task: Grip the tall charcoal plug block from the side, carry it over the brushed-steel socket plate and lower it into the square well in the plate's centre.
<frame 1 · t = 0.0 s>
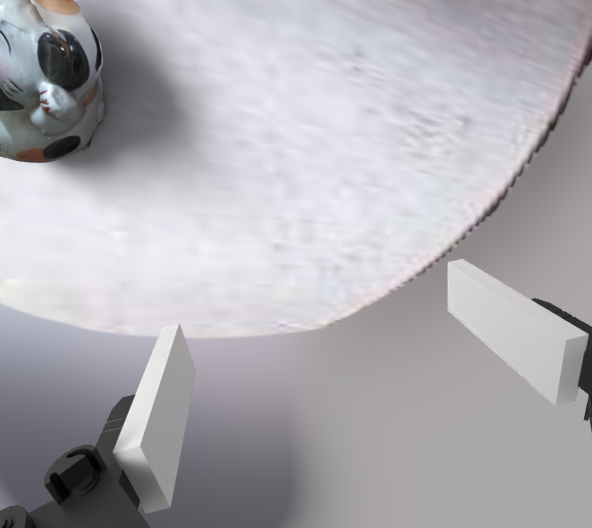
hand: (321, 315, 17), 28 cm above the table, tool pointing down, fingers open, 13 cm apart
lucky cat figurine: (49, 71, 34), on the table
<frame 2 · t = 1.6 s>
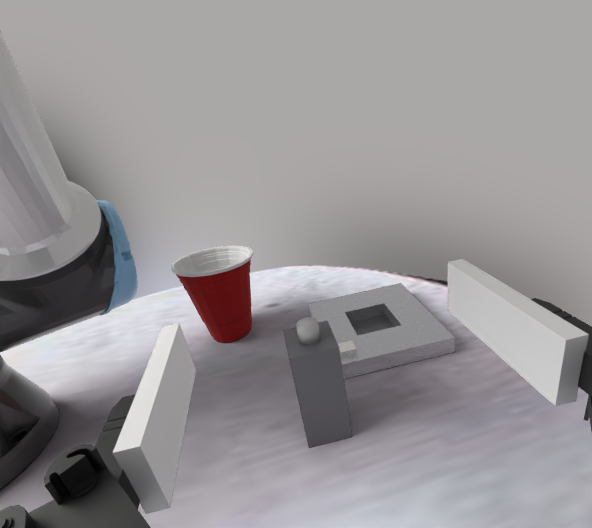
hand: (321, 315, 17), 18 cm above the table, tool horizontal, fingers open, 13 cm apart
plastic cup: (233, 331, 50), on the table
socket: (372, 331, 44), on the table
plug: (325, 424, 33), on the table
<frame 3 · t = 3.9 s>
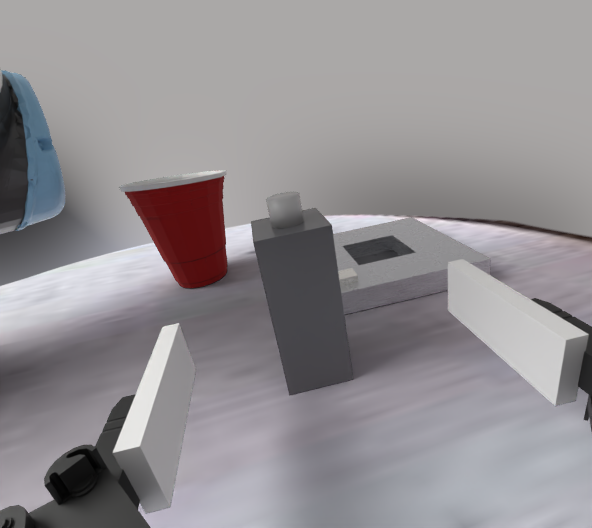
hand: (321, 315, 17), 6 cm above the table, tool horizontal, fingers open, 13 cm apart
plastic cup: (205, 277, 41), on the table
socket: (378, 267, 35), on the table
plug: (315, 366, 23), on the table
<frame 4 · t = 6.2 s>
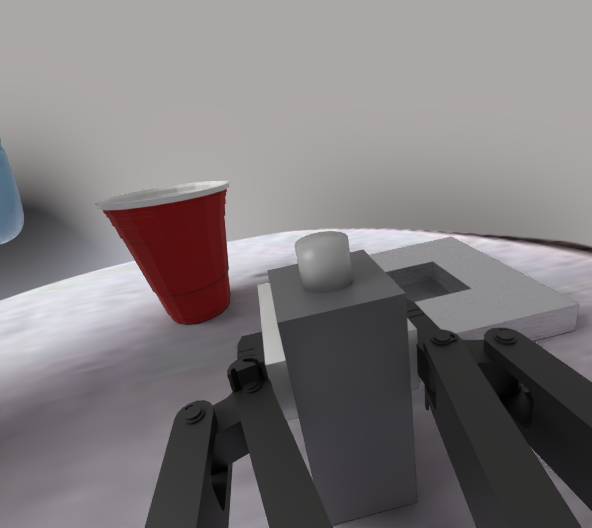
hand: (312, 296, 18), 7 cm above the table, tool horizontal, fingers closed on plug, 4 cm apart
plastic cup: (203, 308, 34), on the table
socket: (418, 303, 28), on the table
plug: (356, 470, 16), on the table, touching gripper
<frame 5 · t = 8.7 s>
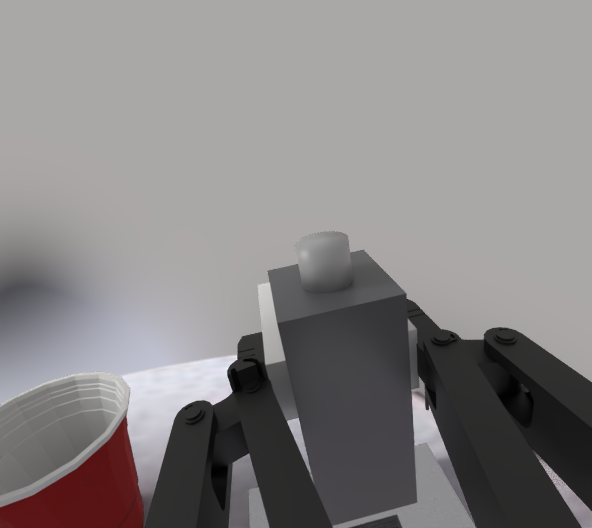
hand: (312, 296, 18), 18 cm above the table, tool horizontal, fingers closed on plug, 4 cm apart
plug: (356, 470, 16), point 11 cm above the table, touching gripper
when the fingers open (7 cm above the table, at t = 11.2 s): plug stays where it is, resting on socket.
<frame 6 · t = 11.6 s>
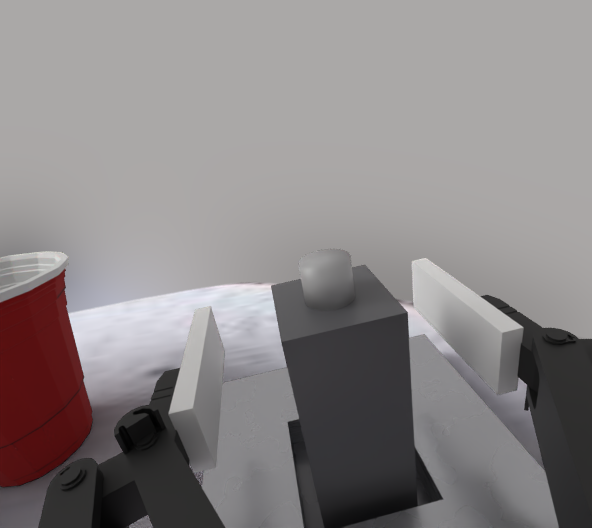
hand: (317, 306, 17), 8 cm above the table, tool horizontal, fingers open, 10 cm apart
plastic cup: (50, 443, 22), on the table
socket: (358, 483, 16), on the table
plug: (358, 480, 16), resting on socket
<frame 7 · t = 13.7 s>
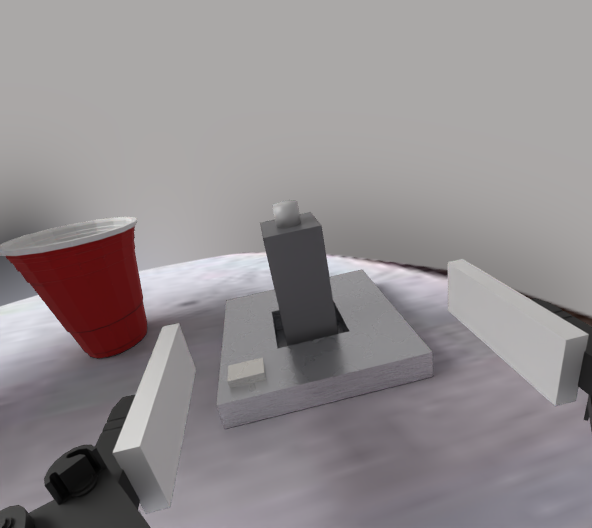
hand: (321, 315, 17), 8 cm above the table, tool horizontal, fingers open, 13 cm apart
plastic cup: (121, 340, 35), on the table
socket: (311, 340, 29), on the table
plug: (310, 338, 29), resting on socket
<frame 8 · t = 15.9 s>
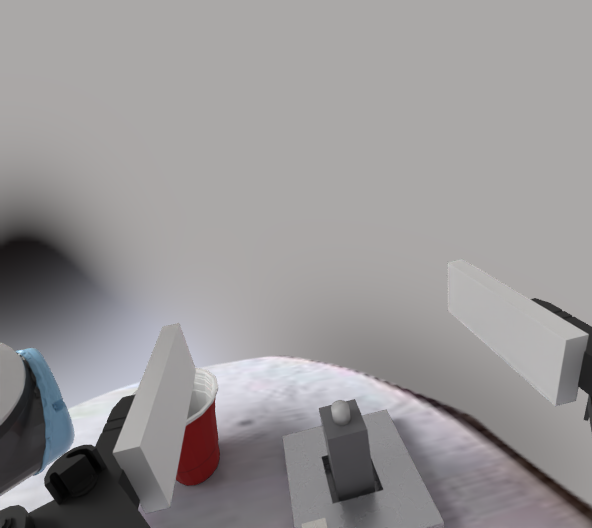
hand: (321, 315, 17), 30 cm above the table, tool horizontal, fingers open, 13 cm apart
plastic cup: (199, 464, 45), on the table
socket: (352, 484, 39), on the table
plug: (352, 482, 39), resting on socket
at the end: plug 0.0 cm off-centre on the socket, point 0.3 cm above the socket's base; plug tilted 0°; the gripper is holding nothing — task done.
